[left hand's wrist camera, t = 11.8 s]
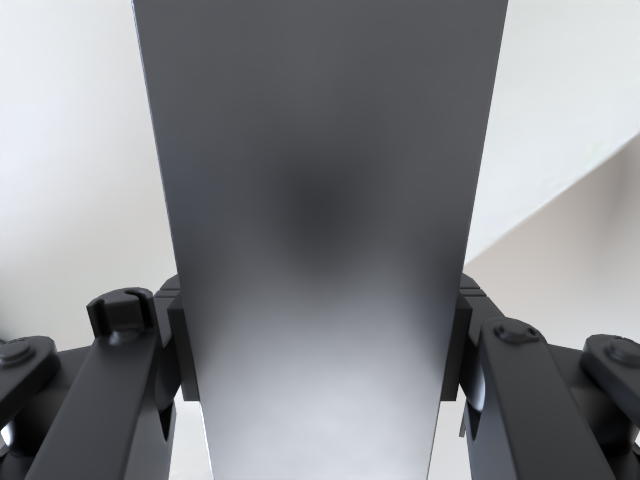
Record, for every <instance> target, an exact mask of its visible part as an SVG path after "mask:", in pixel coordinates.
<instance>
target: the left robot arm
mask: <svg viewBox="0 0 640 480" xmlns="http://www.w3.org/2000/svg"><path fill="white" fill-rule="evenodd" d="M86 308H87V311H88V315H89V318H90V322H91V325H92V329H93V332H94V336H95V340H94V342H93V344H92V345H91V346H87V347H82V348H77V349H72V350H67V351H61V352H57V349H56V346H55V343H54V341H53V340H52V339H51V338H49V337H45V336H32V337H23V338H19V339H18V340H17V339H15V340H12V341H9V342H7V343H6V344H5V343H3V342H1V341H0V480H168V478H169V470H170V462H171V454H172V445H173V437H174V429H175V421H176V408H175V403H174V397H175V395H176V393H177V391H178V389H179V387H180V385H181V388H182V393H183V399H184V401H199V396H198V390H197V384H196V378H195V372H194V366H193V360H192V355H191V349H190V343H189V337H188V331H187V325H186V319H185V313H184V307H183V302H182V296H181V290H180V284H179V278H178V274H177V275H175V276H173V277H171V278H170V279H168V280H167V281H166V282H165V283H164V284H163V286H162V287H161V288H160V291H157V293H156V294H155V295H154V296H153V294H152V292H151V291H149V290H148V289H144V288H139V287H134V288H123V289H118V290H114V291H111V292H108V293H105V294H103V295H101V296H99V297H97V298H96V299H94V300H92V301H91V302H90V303H89V304H88V305H87V306H86ZM459 383H460V385H461V387H462V389H463V392H464V394H465V396H466V403H465V408H464V413H463V418H462V423H461V428H460V433H459V436H460V437H464V434H465V430H466V436H467V445H468V453H469V461H470V469H471V477H472V480H640V447H639V446H638V445H637V444H636V443H635V440H636V437H637V435H638V433H639V431H640V344H638V343H636V342H634V341H633V340H630V339H627V338H622V337H620V336H616V335H605V334H598V335H592V336H590V337H589V338H587V339H586V342H585V345H584V348H583V351H582V350H577V349H571V348H566V347H561V346H556V345H551V344H548V343H547V341H546V339H545V338H544V336H543V335H542V334H541V333H540V332H539V331H538V330H537V329H535V328H534V327H532V326H531V325H529V324H527V323H524V322H522V321H520V320H517V319H512V318H508V317H505V316H504V315H503V313H502V312H501V311H500V310H499V309H498V308H497V306H496V305H495V304H494V303H493V302H492V301H491V299H490V298H489V297H487V296H486V294H485V293H484V291H483V290H482V289H480V287H479V286H478V284H477V283H476V282H475V281H474V280H473V279H472V278H470V277H469V276H467V275H465V274H464V273H462V277H461V283H460V289H459V295H458V301H457V307H456V313H455V319H454V325H453V330H452V336H451V342H450V348H449V354H448V360H447V366H446V372H445V378H444V384H443V390H442V396H441V401H456V397H457V392H458V387H459Z"/></svg>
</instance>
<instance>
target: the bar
mask: <svg viewBox="0 0 640 480" xmlns="http://www.w3.org/2000/svg"><path fill="white" fill-rule="evenodd" d="M131 2H132V8H133V13H134V19H135V25H136V31H137V37H138V43H139V49H140V55H141V60H142V66H143V72H144V78H145V84H146V90H147V96H148V102H149V108H150V113H151V119H152V125H153V131H154V137H155V143H156V149H157V155H158V160H159V166H160V172H161V178H162V184H163V190H164V196H165V202H166V207H167V213H168V219H169V225H170V231H171V237H172V243H173V249H174V255H175V260H176V266H177V272H178V278H179V284H180V290H181V296H182V302H183V307H184V313H185V319H186V325H187V331H188V337H189V343H190V349H191V355H192V360H193V366H194V372H195V378H196V384H197V390H198V396H199V402H200V407H201V413H202V419H203V425H204V431H205V437H206V443H207V449H208V454H209V460H210V466H211V472H212V478H213V480H427V478H428V473H429V467H430V461H431V455H432V449H433V443H434V437H435V431H436V425H437V419H438V413H439V407H440V402H441V396H442V390H443V384H444V378H445V372H446V366H447V360H448V354H449V348H450V342H451V336H452V330H453V325H454V319H455V313H456V307H457V301H458V295H459V289H460V283H461V277H462V271H463V265H464V259H465V254H466V248H467V242H468V236H469V230H470V224H471V218H472V212H473V206H474V200H475V194H476V188H477V183H478V177H479V171H480V165H481V159H482V153H483V147H484V141H485V135H486V129H487V123H488V117H489V112H490V106H491V100H492V94H493V88H494V82H495V76H496V70H497V64H498V58H499V52H500V46H501V41H502V35H503V29H504V23H505V17H506V11H507V5H508V0H131Z"/></svg>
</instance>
